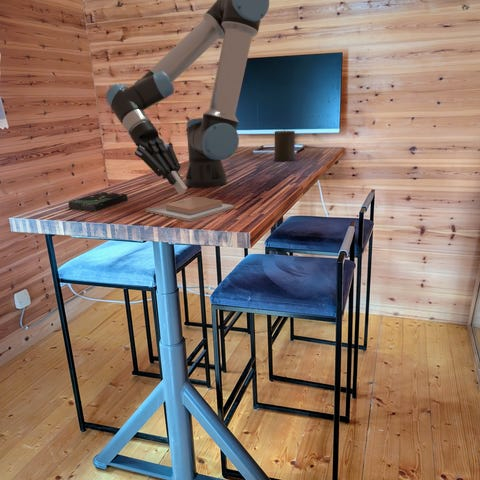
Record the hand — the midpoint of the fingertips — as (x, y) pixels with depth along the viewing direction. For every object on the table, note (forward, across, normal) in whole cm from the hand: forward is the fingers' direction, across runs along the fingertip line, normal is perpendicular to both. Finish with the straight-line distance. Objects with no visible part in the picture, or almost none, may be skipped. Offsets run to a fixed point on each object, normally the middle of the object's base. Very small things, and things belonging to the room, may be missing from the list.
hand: (183, 191), depth 125 cm
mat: (+5, 0, -2) cm, 5 cm away
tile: (+2, 0, -3) cm, 4 cm away
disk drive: (-15, +11, -23) cm, 29 cm away
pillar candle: (-19, -95, -27) cm, 101 cm away
